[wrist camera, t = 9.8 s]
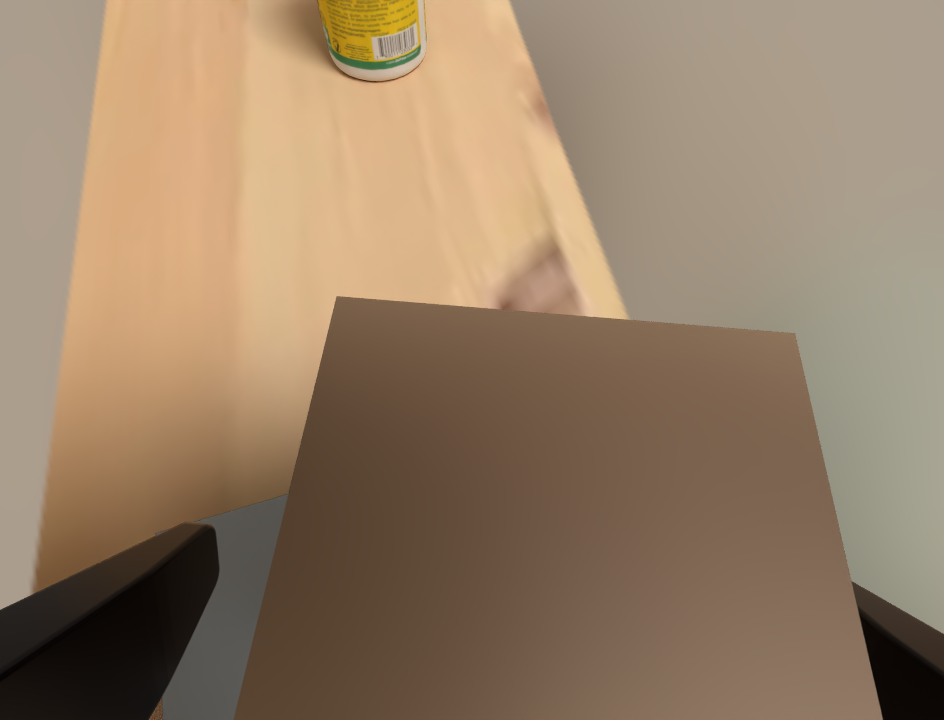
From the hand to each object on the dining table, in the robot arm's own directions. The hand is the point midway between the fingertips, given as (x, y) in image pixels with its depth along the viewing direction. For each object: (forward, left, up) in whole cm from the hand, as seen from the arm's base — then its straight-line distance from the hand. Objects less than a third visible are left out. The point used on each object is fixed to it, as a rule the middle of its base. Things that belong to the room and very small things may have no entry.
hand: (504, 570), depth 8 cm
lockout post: (0, 0, -8) cm, 8 cm away
